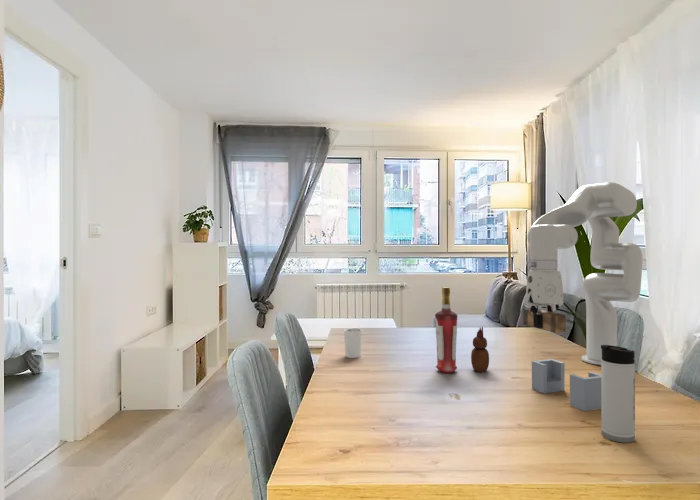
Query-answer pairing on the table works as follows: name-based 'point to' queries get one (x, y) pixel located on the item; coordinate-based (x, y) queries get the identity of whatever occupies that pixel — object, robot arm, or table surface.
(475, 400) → the table surface
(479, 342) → the wooden figurine
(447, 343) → the liquor
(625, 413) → the travel mug
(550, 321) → the rail
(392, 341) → the table surface
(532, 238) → the robot arm
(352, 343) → the drinking glass
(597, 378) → the post
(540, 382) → the post
